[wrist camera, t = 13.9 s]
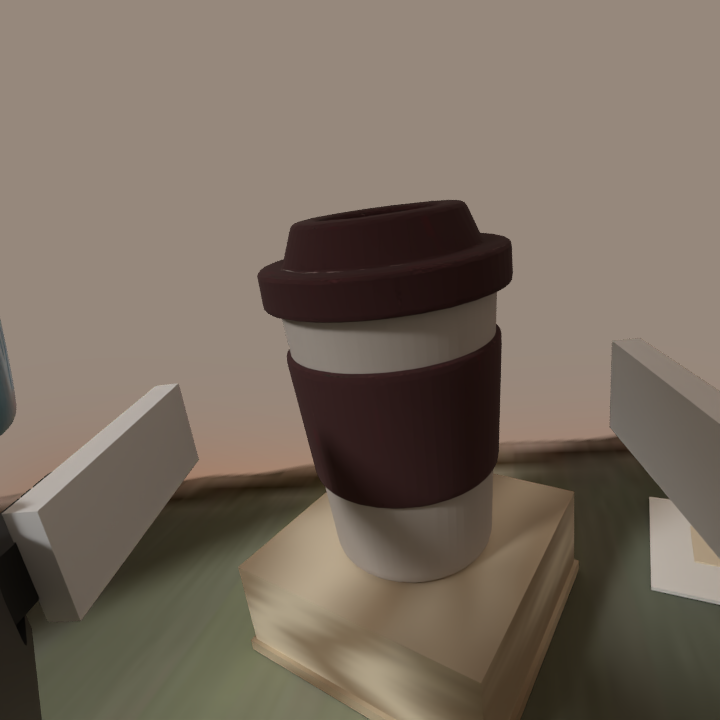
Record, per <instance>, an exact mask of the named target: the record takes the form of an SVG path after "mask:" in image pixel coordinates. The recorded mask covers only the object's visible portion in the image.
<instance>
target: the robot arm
mask: <svg viewBox="0 0 720 720" xmlns="http://www.w3.org/2000/svg"><path fill="white" fill-rule="evenodd" d="M15 414H16V400H15V392H14V386H13V380H12V375H11V369H10V364H9V359H8V354H7V349H6V344H5V339H4V335H3V330H2V325H1V320H0V435H2V434H3V433H4V432H5V431H6V430H7V429H8V428H9V426H10V425H11V424H12V422H13V420H14V417H15ZM610 428H611V429H612V430H613V432H614V433H615V434H616V435H617V436H618V438H619V439H620V440H621V441H622V442H623V444H624V445H625V446H626V447H627V448H628V450H629V451H630V452H631V453H632V454H633V456H634V457H635V458H636V459H637V460H638V462H639V463H640V464H641V465H642V466H643V468H644V469H645V470H646V471H647V472H648V474H649V475H650V476H651V477H652V478H653V480H654V481H655V482H656V483H657V484H658V486H659V487H660V488H661V489H662V490H663V492H664V493H665V494H666V495H667V496H668V498H669V499H670V500H671V501H672V502H673V504H674V505H675V506H676V507H677V508H678V510H679V511H680V512H681V513H682V514H683V516H684V517H685V518H686V519H687V520H688V522H689V523H690V524H691V525H692V526H693V528H694V529H695V530H696V531H697V532H698V534H699V535H700V536H701V537H702V538H703V540H704V541H705V542H706V543H707V544H708V546H709V547H710V548H711V549H712V550H713V552H714V553H715V554H716V555H717V556H718V558H719V559H720V391H719V390H717V389H716V388H714V387H713V386H711V385H710V384H708V383H707V382H705V381H704V380H702V379H701V378H699V377H698V376H696V375H695V374H693V373H692V372H690V371H689V370H687V369H686V368H684V367H683V366H681V365H680V364H678V363H677V362H675V361H674V360H672V359H671V358H669V357H668V356H666V355H665V354H663V353H662V352H660V351H659V350H658V349H656V348H654V347H653V346H652V345H650V344H649V343H647V342H646V341H644V340H643V339H641V338H635V339H625V340H615V341H612V362H611V400H610ZM198 460H199V459H198V455H197V451H196V447H195V444H194V440H193V437H192V433H191V428H190V425H189V421H188V417H187V413H186V410H185V406H184V402H183V399H182V395H181V391H180V387H179V384H168V385H158V386H155V387H154V388H152V389H151V390H150V391H149V392H148V393H146V394H145V395H144V396H143V397H142V398H140V399H139V400H138V401H137V402H136V403H134V404H133V405H132V406H131V407H130V408H128V409H127V410H126V411H125V412H124V413H123V414H121V415H120V416H119V417H118V418H117V419H115V420H114V421H113V422H112V423H111V424H109V425H108V426H107V427H106V428H104V429H103V430H102V431H101V432H99V433H98V434H97V435H96V436H95V437H94V438H92V439H91V440H90V441H89V442H87V443H86V444H85V445H84V446H83V447H82V448H80V449H79V450H78V451H77V452H75V453H74V454H73V455H72V456H71V457H69V458H68V459H67V460H66V461H65V462H63V463H62V464H61V465H60V466H59V467H57V468H56V469H55V470H54V471H53V472H51V473H49V474H48V475H46V476H45V477H44V478H43V479H41V480H40V481H39V482H38V483H36V484H35V485H34V486H33V488H32V489H29V490H28V491H27V492H26V493H24V494H23V495H22V496H21V498H20V499H17V500H16V501H15V502H13V503H12V504H11V505H10V506H9V507H7V508H6V509H5V510H4V511H3V512H1V513H0V720H42V718H41V709H40V700H39V691H38V681H37V672H36V663H35V654H34V645H33V636H32V628H31V626H30V623H29V621H28V619H27V617H26V614H27V612H28V611H29V610H30V609H31V608H32V607H33V606H34V604H35V603H36V602H37V601H39V603H40V605H41V608H42V610H43V612H44V615H45V617H46V620H47V622H69V621H81V620H82V619H83V617H84V616H85V615H86V613H87V612H88V610H89V609H90V608H91V606H92V605H93V604H94V602H95V601H96V600H97V598H98V597H99V595H100V594H101V593H102V591H103V590H104V589H105V587H106V586H107V584H108V583H109V582H110V580H111V579H112V578H113V576H114V575H115V574H116V572H117V571H118V569H119V568H120V567H121V565H122V564H123V563H124V561H125V560H126V558H127V557H128V556H129V554H130V553H131V552H132V550H133V549H134V548H135V546H136V545H137V543H138V542H139V541H140V539H141V538H142V537H143V535H144V534H145V533H146V531H147V530H148V528H149V527H150V526H151V524H152V523H153V522H154V520H155V519H156V517H157V516H158V515H159V513H160V512H161V511H162V509H163V508H164V507H165V505H166V504H167V502H168V501H169V500H170V498H171V497H172V496H173V494H174V493H175V492H176V490H177V489H178V487H179V486H180V485H181V483H182V482H183V481H184V479H185V478H186V476H187V475H188V473H189V472H190V471H191V470H192V468H193V467H194V465H195V464H196V463H197V461H198Z"/></svg>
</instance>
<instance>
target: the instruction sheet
mask: <svg viewBox="0 0 720 720" xmlns="http://www.w3.org/2000/svg"><path fill="white" fill-rule="evenodd" d="M649 513H650V561H651V590H654V591H659V592H663V593H668V594H672V595H677V596H682V597H686V598H691V599H695V600H700V601H705V602H709V603H714V604H718V605H720V559H719V558H718V556H717V555H716V554H715V553H714V552H713V550H712V549H711V548H710V547H709V546H708V544H707V543H706V542H705V541H704V540H703V538H702V537H701V536H700V535H699V534H698V532H697V531H696V530H695V529H694V528H693V526H692V525H691V524H690V523H689V522H688V520H687V519H686V518H685V517H684V516H683V514H682V513H681V512H680V511H679V510H678V508H677V507H676V506H675V505H674V504H673V502H672V501H671V500H670V499H663V498H656V497H649Z"/></svg>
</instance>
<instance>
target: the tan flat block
mask: <svg viewBox="0 0 720 720" xmlns="http://www.w3.org/2000/svg"><path fill="white" fill-rule="evenodd" d="M238 568H239V572H240V576H241V579H242V583H243V587H244V591H245V595H246V599H247V603H248V607H249V610H250V614H251V618H252V622H253V626H254V630H255V634H256V635H255V636H254V637H253V639H252V640H251V642H252V646H253V649H254V650H256V651H257V652H259V653H261V654H262V655H264V656H266V657H267V658H269V659H271V660H272V661H274V662H276V663H277V664H279V665H281V666H282V667H284V668H286V669H287V670H289V671H291V672H292V673H294V674H296V675H297V676H299V677H301V678H302V679H304V680H306V681H307V682H309V683H310V684H312V685H314V686H315V687H317V688H319V689H320V690H322V691H324V692H325V693H327V694H329V695H330V696H332V697H334V698H335V699H337V700H339V701H340V702H342V703H344V704H345V705H347V706H349V707H350V708H352V709H354V710H355V711H357V712H359V713H360V714H362V715H364V716H365V717H367V718H369V719H370V720H520V719H521V717H522V714H523V711H524V709H525V706H526V704H527V701H528V699H529V696H530V693H531V691H532V688H533V686H534V683H535V681H536V678H537V676H538V673H539V670H540V668H541V665H542V663H543V660H544V658H545V655H546V652H547V650H548V647H549V645H550V642H551V640H552V637H553V635H554V632H555V629H556V627H557V624H558V622H559V619H560V617H561V614H562V611H563V609H564V606H565V604H566V601H567V599H568V596H569V593H570V591H571V588H572V586H573V583H574V581H575V578H576V576H577V573H578V570H579V561H578V560H575V559H574V492H573V491H569V490H564V489H560V488H556V487H551V486H547V485H542V484H538V483H533V482H529V481H524V480H520V479H515V478H511V477H506V476H502V475H497V474H493V498H492V530H491V534H490V537H489V541H488V543H487V545H486V547H485V549H484V550H483V551H482V553H481V554H480V555H479V556H478V557H477V559H476V560H475V561H473V562H472V563H471V564H469V565H468V566H467V567H466V568H464V569H462V570H460V571H458V572H456V573H454V574H452V575H449V576H446V577H443V578H440V579H437V580H432V581H427V582H416V583H412V582H396V581H391V580H385V579H382V578H379V577H376V576H374V575H371V574H369V573H367V572H365V571H364V570H362V569H361V568H359V567H357V566H356V565H355V564H354V563H353V562H352V561H351V560H350V559H349V558H348V556H347V555H346V554H345V552H344V550H343V548H342V546H341V544H340V541H339V538H338V534H337V530H336V526H335V522H334V518H333V514H332V511H331V507H330V503H329V499H328V495H327V492H326V493H324V494H323V495H322V496H321V497H320V498H319V499H317V500H316V501H315V502H314V503H313V504H312V505H310V506H309V507H308V508H307V509H306V510H305V511H303V512H302V513H301V514H300V515H299V516H298V517H296V518H295V519H294V520H293V521H292V522H291V523H289V524H288V525H287V526H286V527H285V528H283V529H282V530H281V531H280V532H279V533H278V534H276V535H275V536H274V537H273V538H272V539H271V540H269V541H268V542H267V543H266V544H265V545H264V546H262V547H261V548H260V549H259V550H258V551H257V552H255V553H254V554H253V555H252V556H251V557H250V558H248V559H247V560H246V561H245V562H244V563H242V564H241V565H240V566H239V567H238Z"/></svg>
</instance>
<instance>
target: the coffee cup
mask: <svg viewBox="0 0 720 720" xmlns="http://www.w3.org/2000/svg"><path fill="white" fill-rule="evenodd" d="M512 274H513V268H512V246H511V241H510V240H509V239H508V238H506V237H504V236H500V235H495V234H487V233H480V232H479V230H478V228H477V226H476V223H475V221H474V220H473V217H472V215H471V213H470V211H469V209H468V207H467V205H466V204H465V202H463V201H459V200H441V201H429V202H419V203H410V204H401V205H391V206H384V207H377V208H370V209H362V210H357V211H350V212H344V213H337V214H332V215H327V216H321V217H316V218H311V219H308V220H304V221H300V222H297V223H295V224H293V225H292V226H291V228H290V232H289V237H288V242H287V247H286V252H285V257H284V260H280V261H277V262H275V263H272V264H270V265H268V266H266V267H264V268H263V269H262V270H260V272H259V273H258V276H257V277H258V282H259V287H260V291H261V297H262V302H263V306H264V309H265V311H266V312H267V313H268V314H270V315H272V316H274V317H277V318H281V319H282V322H283V325H284V329H285V333H286V337H287V341H288V345H289V348H290V349H289V351H288V353H287V362H288V367H289V370H290V374H291V378H292V382H293V386H294V389H295V393H296V397H297V400H298V404H299V408H300V412H301V415H302V419H303V423H304V427H305V430H306V434H307V438H308V442H309V446H310V449H311V453H312V457H313V461H314V465H315V468H316V471H317V474H318V477H319V479H320V481H321V482H322V483H323V485H324V486H325V487H326V491H327V495H328V499H329V503H330V507H331V511H332V514H333V518H334V522H335V526H336V530H337V534H338V538H339V541H340V544H341V546H342V548H343V550H344V552H345V554H346V555H347V556H348V558H349V559H350V560H351V561H352V562H353V563H354V564H355V565H356V566H357V567H359V568H361V569H362V570H364V571H365V572H367V573H369V574H371V575H374V576H376V577H379V578H382V579H385V580H391V581H396V582H412V583H416V582H427V581H432V580H437V579H440V578H443V577H446V576H449V575H452V574H454V573H456V572H458V571H460V570H462V569H464V568H466V567H467V566H468V565H469V564H471V563H472V562H473V561H475V560H476V559H477V557H478V556H479V555H480V554H481V553H482V551H483V550H484V549H485V547H486V545H487V543H488V541H489V537H490V534H491V530H492V498H493V469H494V467H495V465H496V463H497V458H498V452H499V417H500V382H501V379H500V378H501V345H502V343H501V330H500V328H499V326H498V325H497V324H496V299H497V291H499V290H501V289H503V288H504V287H506V286H507V285H508V284H509V283H510V282H511V280H512Z"/></svg>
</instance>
